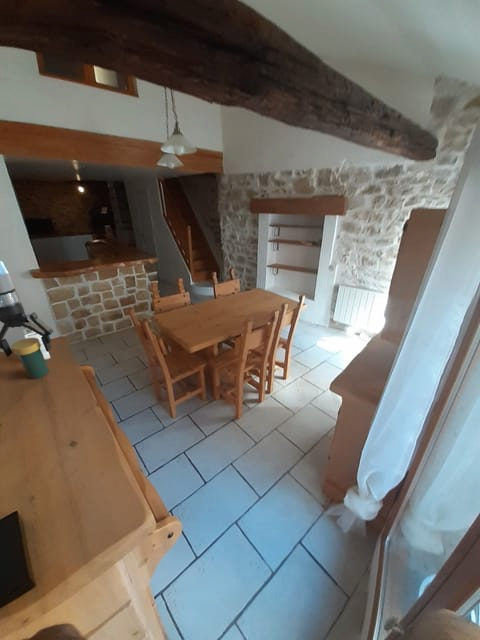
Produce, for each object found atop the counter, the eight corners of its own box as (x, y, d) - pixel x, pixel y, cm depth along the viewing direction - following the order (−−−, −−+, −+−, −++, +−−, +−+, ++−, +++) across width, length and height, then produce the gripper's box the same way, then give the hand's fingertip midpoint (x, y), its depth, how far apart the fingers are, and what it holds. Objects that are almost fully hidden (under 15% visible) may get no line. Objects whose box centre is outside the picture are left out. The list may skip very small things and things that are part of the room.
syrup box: (33, 357, 115) (21, 330, 108) (49, 352, 118) (38, 325, 112) (35, 363, 111) (22, 335, 104) (51, 358, 115) (40, 330, 108)
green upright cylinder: (26, 381, 101) (11, 351, 94) (30, 370, 107) (17, 341, 100) (47, 376, 103) (34, 346, 97) (50, 366, 109) (39, 338, 103)
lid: (10, 357, 94) (7, 351, 93) (17, 346, 101) (14, 340, 100) (38, 352, 98) (35, 346, 96) (43, 341, 104) (40, 335, 103)
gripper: (-43, 311, 84) (-14, 362, 94) (42, 304, 90) (61, 352, 100) (-28, 303, 91) (-2, 351, 101) (50, 296, 97) (67, 343, 106)
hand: (29, 352), depth 100 cm, fingers open, 13 cm apart
